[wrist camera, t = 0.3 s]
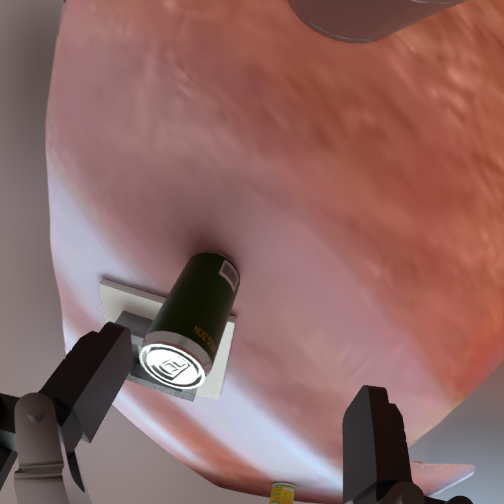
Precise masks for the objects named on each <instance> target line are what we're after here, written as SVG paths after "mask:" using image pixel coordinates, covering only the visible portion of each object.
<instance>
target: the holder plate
mask: <svg viewBox="0 0 504 504" xmlns="http://www.w3.org/2000/svg"><path fill="white" fill-rule="evenodd" d="M99 288H100V294H101V301H102V307H103V313H104V318H105V324H106V323H107V322H109V321H111V322H113V323H115V322H116V320H117V319H118V317H119V316H120V314H121V313H122V311H123V310H124V311H127V312H130V313H133V314H136V315H139V316H142V317H145V318H148V319H151V320H154V319H155V317H156V315H157V314H158V312H159V310H160V308H161V307H162V305H163V303H164V301H165V300H166V298H165V297H161V296H158V295H155V294H151V293H148V292H145V291H141V290H138V289H135V288H131V287H128V286H125V285H122V284H119V283H115V282H112V281H109V280H106V279H102V280H101V282H100V283H99ZM236 318H237V317H235V316H231V315H229V318H228V321H227V324H226V327H225V330H224V333H223V336H222V339H221V342H220V345H219V348H218V352H217V355H216V358H215V361H214V364H213V367H212V369H211V372H210V374H209V375H208V376H207V377H205V380H204V382H203V384H202V385H200V386H199V387H198V389H197V392H196V395H200V396H203V397H207V398H211V399H214V400H218V401H219V399H220V395H221V391H222V386H223V381H224V376H225V371H226V367H227V362H228V357H229V352H230V347H231V342H232V338H233V333H234V328H235V323H236ZM141 349H142V346H139V345H138V352H139V355H140V351H141Z"/></svg>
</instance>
